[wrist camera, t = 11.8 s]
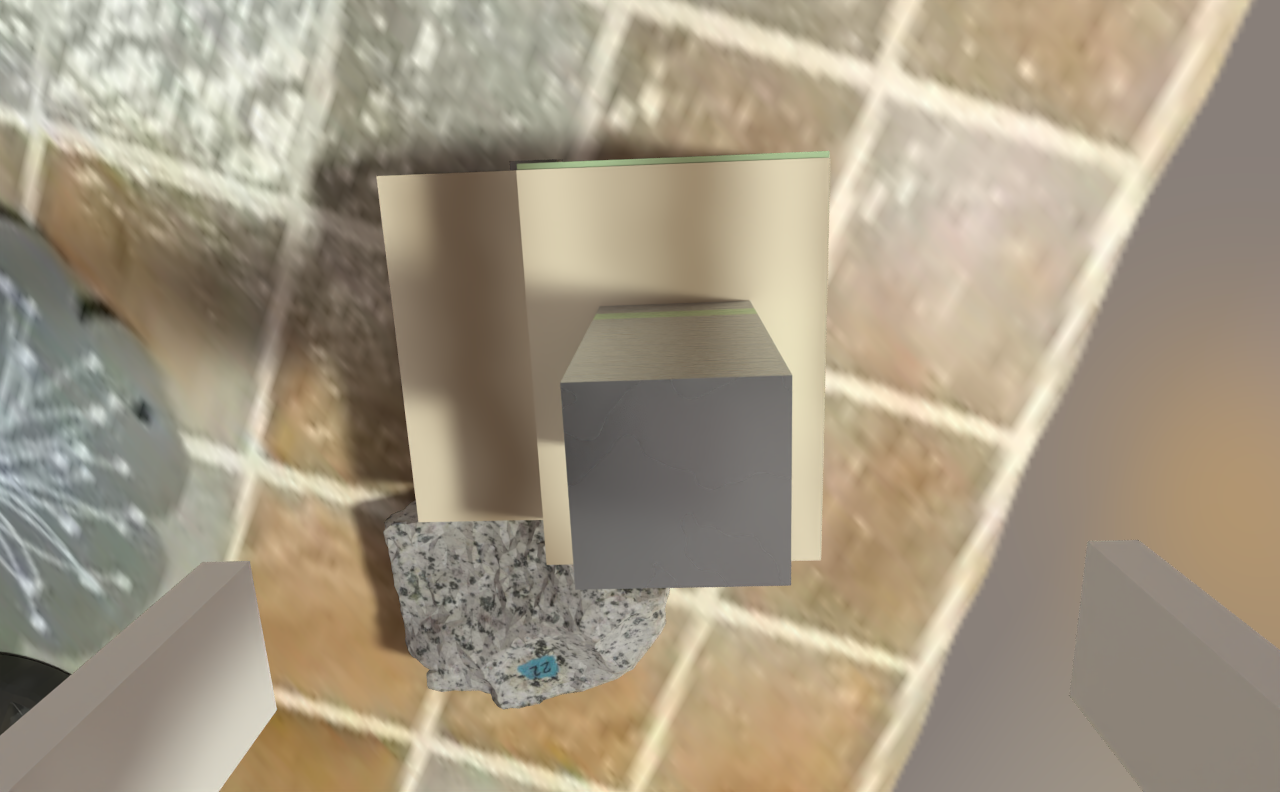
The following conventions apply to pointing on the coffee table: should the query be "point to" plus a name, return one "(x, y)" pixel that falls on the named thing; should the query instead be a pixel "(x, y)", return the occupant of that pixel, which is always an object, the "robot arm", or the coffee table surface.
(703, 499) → the column
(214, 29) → the coffee table surface
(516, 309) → the stand
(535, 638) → the rock
